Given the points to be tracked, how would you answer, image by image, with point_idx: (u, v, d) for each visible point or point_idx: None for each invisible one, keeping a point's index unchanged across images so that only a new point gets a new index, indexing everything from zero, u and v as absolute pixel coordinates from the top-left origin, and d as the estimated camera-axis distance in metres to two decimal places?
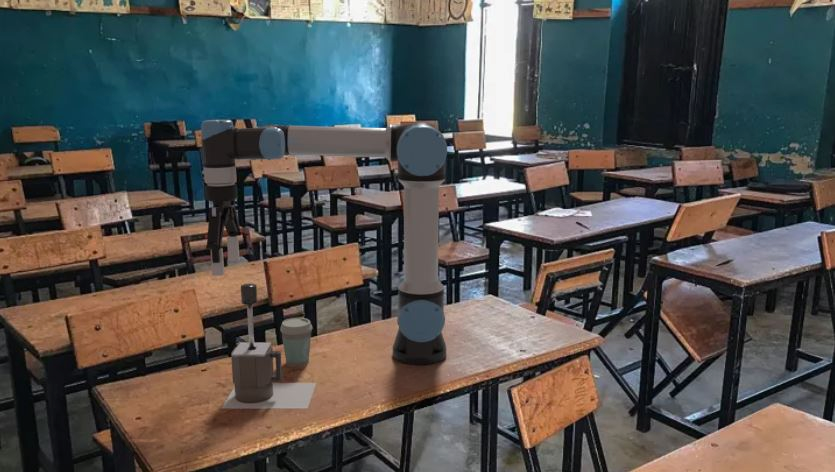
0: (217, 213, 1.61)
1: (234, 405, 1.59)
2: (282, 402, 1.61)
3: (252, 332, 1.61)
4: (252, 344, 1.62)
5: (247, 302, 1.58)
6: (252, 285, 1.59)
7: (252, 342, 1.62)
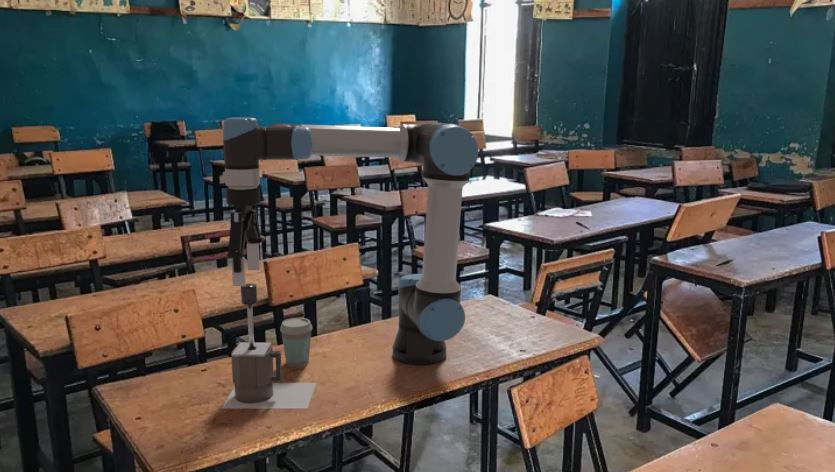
0: (240, 219, 1.49)
1: (234, 405, 1.59)
2: (282, 402, 1.61)
3: (252, 332, 1.61)
4: (252, 344, 1.62)
5: (247, 302, 1.58)
6: (252, 285, 1.59)
7: (252, 342, 1.62)
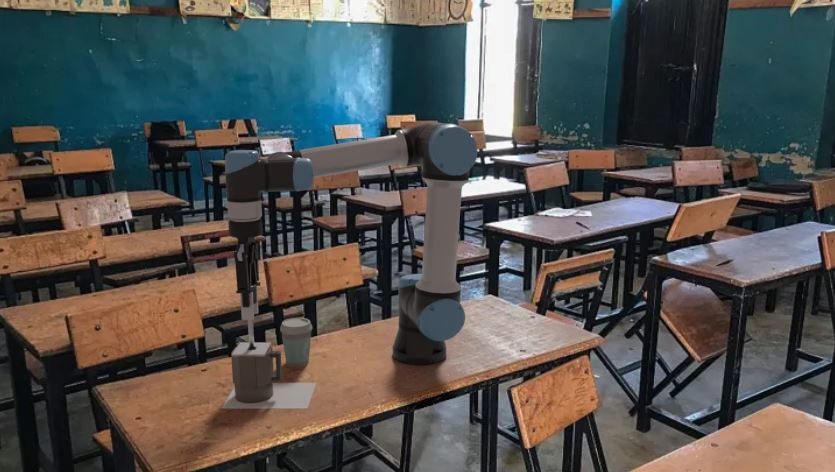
0: (243, 259, 1.51)
1: (234, 405, 1.59)
2: (282, 402, 1.61)
3: (252, 332, 1.61)
4: (252, 344, 1.62)
5: None
6: (252, 285, 1.59)
7: (252, 342, 1.62)
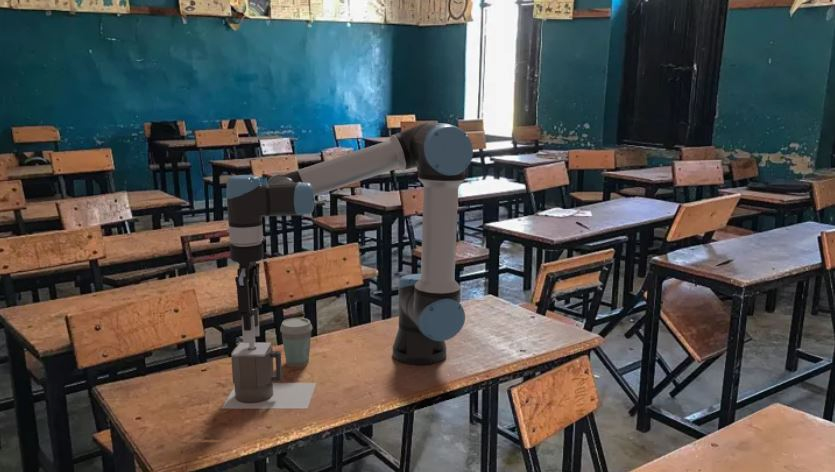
0: (245, 283, 1.53)
1: (234, 405, 1.59)
2: (282, 402, 1.61)
3: None
4: None
5: None
6: (253, 308, 1.61)
7: None
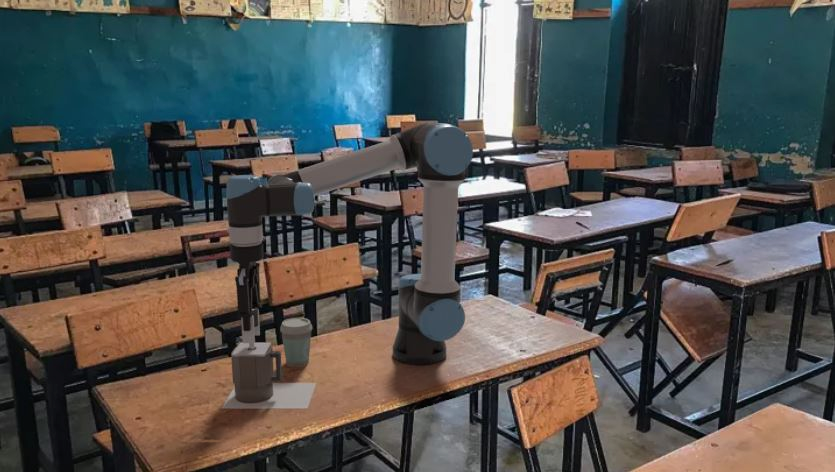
0: (245, 283, 1.52)
1: (234, 405, 1.59)
2: (282, 402, 1.61)
3: None
4: None
5: None
6: (253, 308, 1.61)
7: None
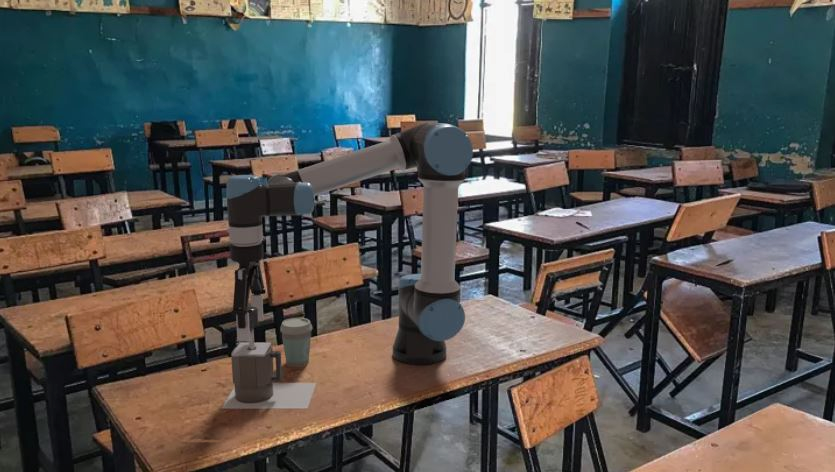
0: (244, 276, 1.52)
1: (234, 405, 1.59)
2: (282, 402, 1.61)
3: None
4: None
5: None
6: (253, 308, 1.61)
7: None
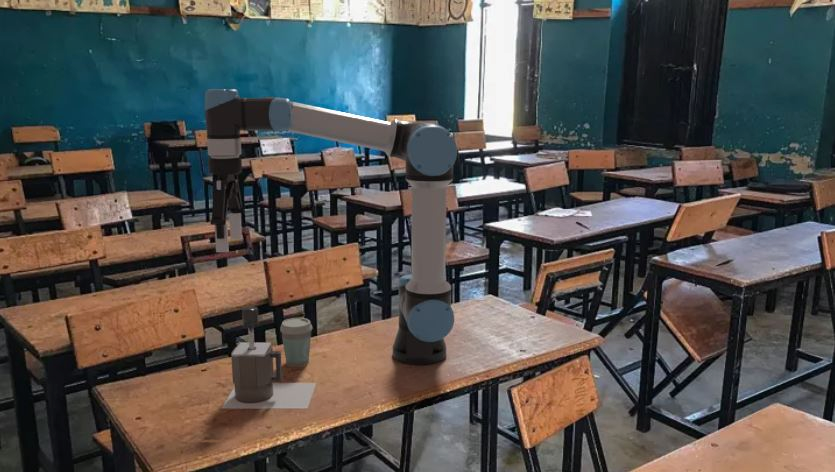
0: (222, 186, 1.54)
1: (234, 405, 1.59)
2: (282, 402, 1.61)
3: None
4: None
5: (248, 325, 1.59)
6: (253, 308, 1.61)
7: None
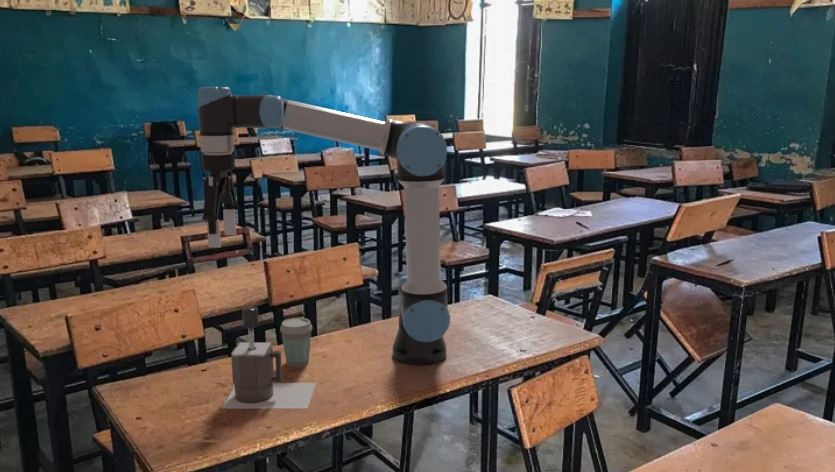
0: (214, 182, 1.56)
1: (234, 405, 1.59)
2: (282, 402, 1.61)
3: None
4: None
5: (248, 325, 1.59)
6: (253, 308, 1.61)
7: None
